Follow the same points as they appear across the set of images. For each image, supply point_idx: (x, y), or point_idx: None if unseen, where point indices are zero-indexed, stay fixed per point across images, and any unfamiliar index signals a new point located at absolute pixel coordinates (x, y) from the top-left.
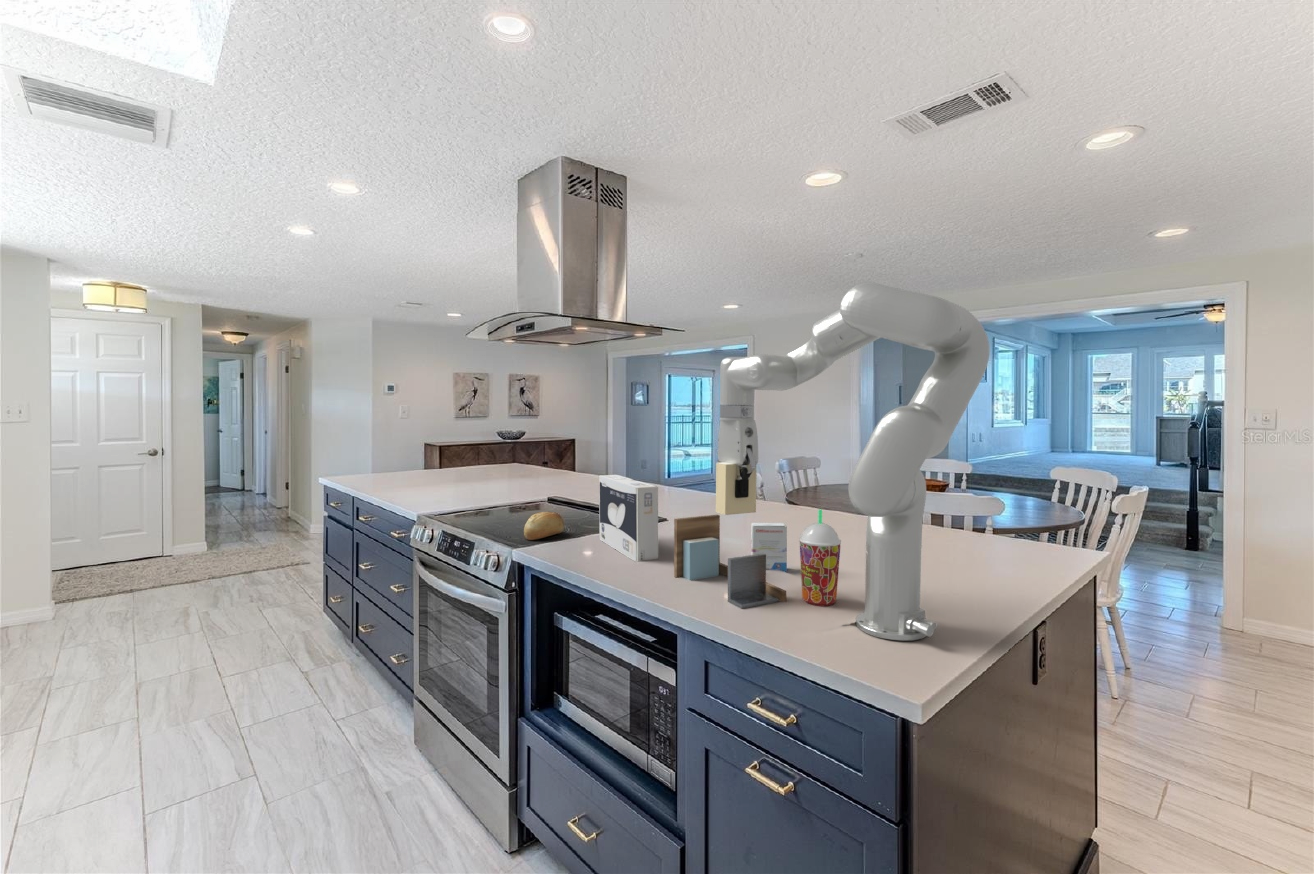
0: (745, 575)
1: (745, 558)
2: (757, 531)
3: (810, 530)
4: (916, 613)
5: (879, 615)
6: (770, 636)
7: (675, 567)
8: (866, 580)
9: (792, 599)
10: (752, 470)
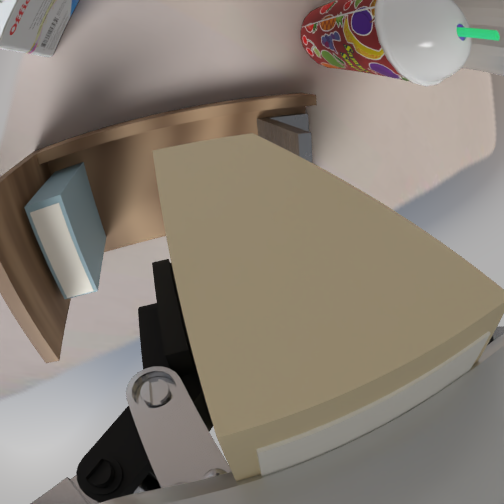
0: None
1: None
2: (13, 30)
3: (450, 70)
4: None
5: None
6: (386, 192)
7: None
8: (473, 63)
9: (277, 60)
10: (499, 335)
